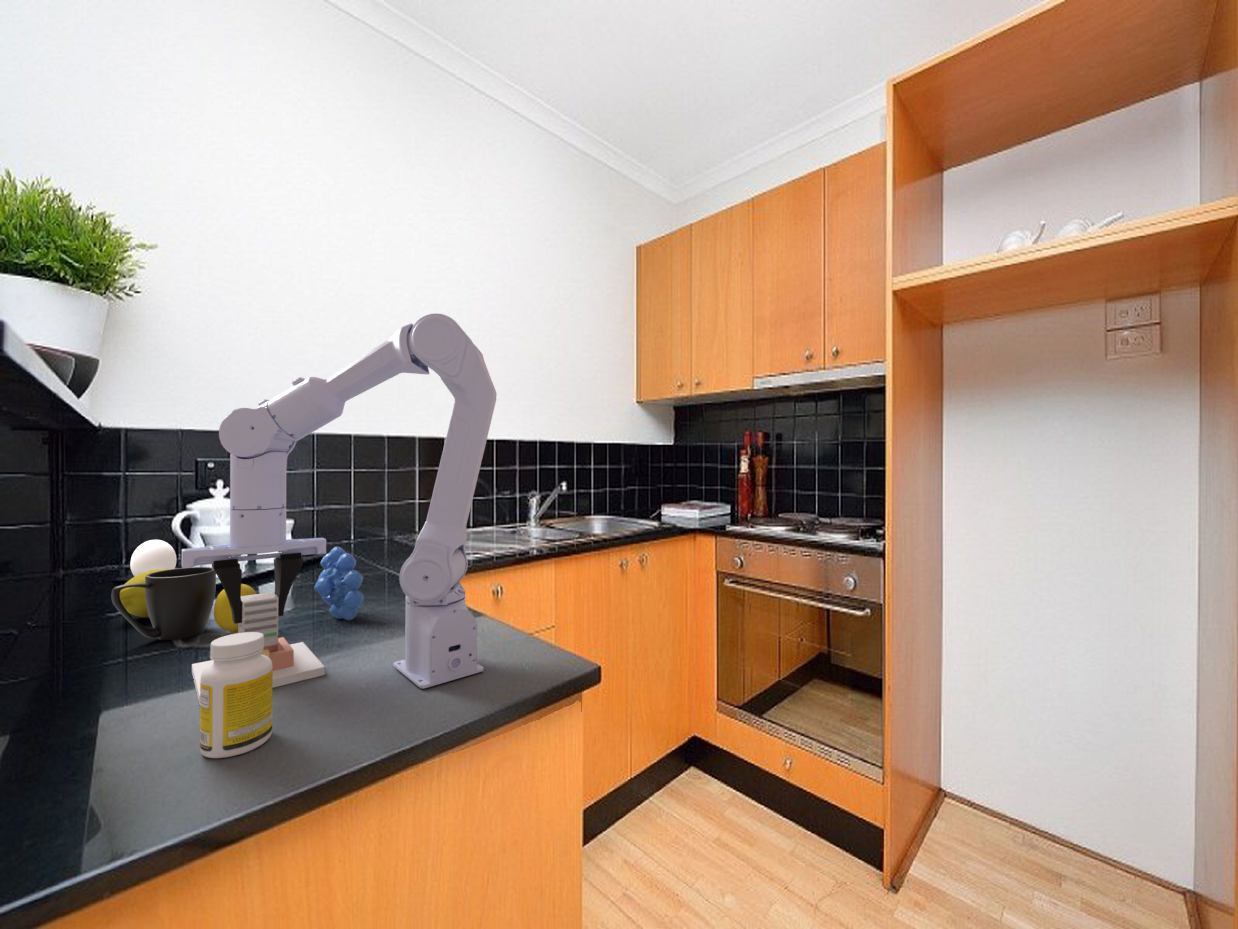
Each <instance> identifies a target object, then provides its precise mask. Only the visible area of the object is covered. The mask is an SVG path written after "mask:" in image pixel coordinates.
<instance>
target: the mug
mask: <svg viewBox="0 0 1238 929" xmlns="http://www.w3.org/2000/svg"><path fill="white" fill-rule="evenodd" d="M128 587H141V588H145V599H146V606H147V610H148V614H149V617H150V618H149V620H150V621H149V622H150V623H151V626H152V627H146V626H144V625H142V624H141V623H139V622H138V621H137V620H136V619H135V618H134V617H133V616H132V614H130V613H128V611H127V610H126V609H125V608H124V606H123V604H122V602H121V600H120V591H121V590H122V589H124V588H128ZM216 589H217V574H216V573H215V571H214V569H213V568H212V566H211V567H210V566H194V567H188V568H182V567H178V568H177V567H175V569H169V570H163V571H157V572H153V573H150V574H148V575H146V577H145V583H136V584H126V585H124V584H120V585H118V586H115V587H113V588H112V590H111V595H110V597H111V602H112V604H113V606H114V607H115V609H116V610H117V611H118V612H119V613H120V614H121V615H122V616H123V617H124V619H125V620H126V621H128V623H129V624H130V625H131V626H132V627H133V628H134V629H135V630H136V631H137V632H139V633H140V634H141V635H142V636H144V637H146V638H148V639H158V640H160V641H173V640H182V639H187V638H192V637H195V636H198V635H201V634H203V633H204V632H205V631H206V627H207V623H208V621H209V619H210V615H211V613H212V609H213V607H214V603H215V598H216Z"/></svg>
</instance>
